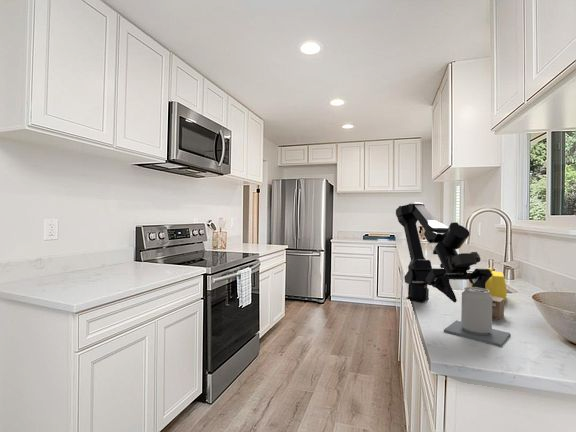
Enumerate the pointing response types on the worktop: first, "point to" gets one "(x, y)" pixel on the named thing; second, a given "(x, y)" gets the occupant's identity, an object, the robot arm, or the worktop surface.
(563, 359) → the worktop surface
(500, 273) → the teapot
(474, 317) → the can
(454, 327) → the mat
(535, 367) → the worktop surface
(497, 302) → the marked block
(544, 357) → the worktop surface
